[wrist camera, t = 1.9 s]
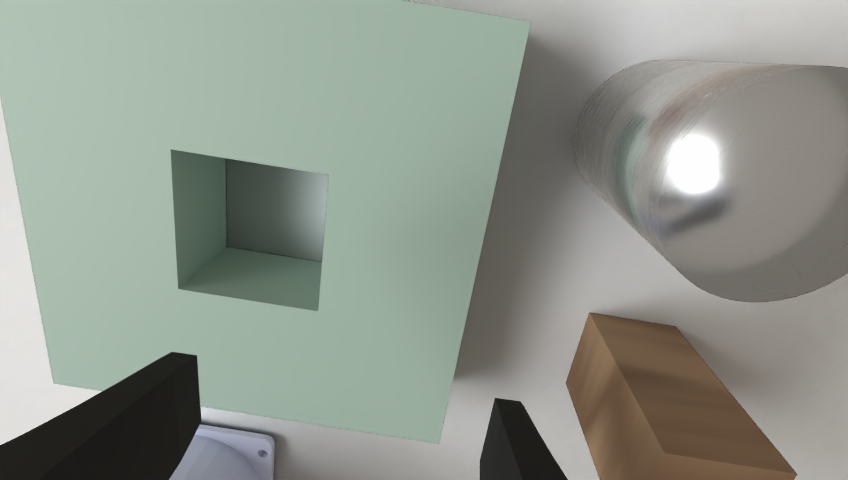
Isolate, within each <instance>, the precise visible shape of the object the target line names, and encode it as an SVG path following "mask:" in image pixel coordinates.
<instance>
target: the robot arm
mask: <svg viewBox="0 0 848 480" xmlns="http://www.w3.org/2000/svg"><path fill="white" fill-rule="evenodd" d="M200 423H201V409H200V394H199V378H198V362H197V355H192V354H185V353H178V352H170V353H169V354H167V355H165V356H163V357H161V358H159V359H158V360H156V361H154V362H152V363H151V364H149V365H147V366H145V367H144V368H142V369H140V370H139V371H137V372H135V373H133V374H132V375H130V376H128V377H127V378H125V379H123V380H121V381H120V382H118V383H116V384H115V385H113V386H111V387H109V388H108V389H106V390H104V391H102V392H101V393H99V394H97V395H95V396H94V397H92V398H90V399H88V400H87V401H85V402H83V403H81V404H80V405H78V406H76V407H74V408H72V409H70V410H68V411H66V412H65V413H63V414H61V415H59V416H57V417H55V418H53V419H51V420H49V421H48V422H46V423H44V424H42V425H40V426H38V427H36V428H34V429H32V430H31V431H29V432H27V433H25V434H23V435H21V436H19V437H17V438H15V439H13V440H11V441H9V442H6V443H4V444H2V445H0V480H273V472H274V448H275V442H274V440H273V438H272V437H270V436H269V435H265V434H259V433H253V432H246V431H240V430H233V429H227V428H221V427H214V426H208V425H202V424H200ZM262 450H264V451H262ZM265 451H266V452H265ZM480 480H568V479H567V478H566V476H565V475H564V473H563V472H562V470H561V469H560V467H559V465H558V464H557V462H556V461H555V459H554V458H553V456H552V454H551V453H550V451H549V449H548V448H547V446H546V444H545V443H544V441H543V439H542V438H541V436H540V434H539V432H538V431H537V429H536V427H535V425H534V424H533V422H532V420H531V418H530V416H529V415H528V413H527V411H526V409H525V407H524V406H523V404H522V403H521V402H520V401H513V400H506V399H499V398H495V401H494V405H493V409H492V413H491V417H490V421H489V425H488V430H487V434H486V438H485V442H484V446H483V450H482V454H481V459H480Z"/></svg>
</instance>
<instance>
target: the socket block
mask: <svg viewBox="0 0 848 480" xmlns="http://www.w3.org/2000/svg"><path fill="white" fill-rule="evenodd" d="M530 25H531V21H525V20H519V19H513V18H507V17H501V16H495V15H489V14H483V13H477V12H471V11H465V10H459V9H453V8H447V7H441V6H435V5H429V4H423V3H417V2H411V1H405V0H0V99H1V104H2V109H3V115H4V120H5V125H6V131H7V136H8V142H9V147H10V152H11V158H12V163H13V168H14V174H15V179H16V185H17V190H18V195H19V201H20V206H21V211H22V217H23V222H24V228H25V233H26V238H27V244H28V249H29V254H30V260H31V265H32V271H33V276H34V281H35V287H36V292H37V297H38V303H39V308H40V314H41V319H42V324H43V330H44V335H45V340H46V346H47V351H48V357H49V362H50V367H51V373H52V378H53V383H54V384H60V385H66V386H73V387H79V388H86V389H92V390H98V391H104V390H106V389H108V388H109V387H111V386H113V385H115V384H116V383H118V382H120V381H121V380H123V379H125V378H127V377H128V376H130V375H132V374H133V373H135V372H137V371H139V370H140V369H142V368H144V367H145V366H147V365H149V364H151V363H152V362H154V361H156V360H158V359H159V358H161V357H163V356H165V355H167V354H169V353H170V352H178V353H185V354H192V355H197V362H198V378H199V394H200V407H207V408H213V409H219V410H226V411H232V412H238V413H245V414H251V415H258V416H264V417H270V418H277V419H283V420H289V421H296V422H302V423H308V424H315V425H321V426H328V427H334V428H340V429H347V430H353V431H359V432H366V433H372V434H379V435H385V436H391V437H398V438H404V439H410V440H417V441H423V442H430V443H436V444H439V442H440V437H441V433H442V428H443V423H444V419H445V414H446V410H447V405H448V400H449V396H450V391H451V387H452V382H453V378H454V373H455V368H456V364H457V359H458V355H459V350H460V345H461V341H462V336H463V332H464V327H465V323H466V318H467V313H468V309H469V304H470V300H471V295H472V290H473V286H474V281H475V277H476V272H477V268H478V263H479V258H480V254H481V249H482V245H483V240H484V236H485V231H486V226H487V222H488V217H489V213H490V208H491V203H492V199H493V194H494V190H495V185H496V181H497V176H498V171H499V167H500V162H501V158H502V153H503V148H504V144H505V139H506V135H507V130H508V126H509V121H510V116H511V112H512V107H513V103H514V98H515V94H516V89H517V84H518V80H519V75H520V71H521V66H522V61H523V57H524V52H525V48H526V43H527V39H528V34H529V29H530ZM226 158H227V159H234V160H240V161H246V162H252V163H258V164H264V165H270V166H277V167H283V168H289V169H295V170H301V171H307V172H314V173H320V174H326V175H329V178H328V191H327V204H326V217H325V230H324V243H323V256H322V262H317V261H311V260H305V259H299V258H292V257H286V256H280V255H274V254H268V253H261V252H255V251H249V250H243V249H236V248H230V247H226Z"/></svg>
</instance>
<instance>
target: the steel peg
mask: <svg viewBox="0 0 848 480" xmlns="http://www.w3.org/2000/svg"><path fill="white" fill-rule="evenodd" d="M574 147H575V157H576V162H577V165H578V168H579V170H580V172H581V174H582V176H583V178H584V179H585V181H586V182H587V183H588V185H589V186H590V187H591V188H592V189H593V190H594V191H595V192H596V193H597V194H598V195H599V196H600V197H601V198H603V199H604V200H605V201H606V202H607V203H608V204H609V205H610V206H611V207H612V208H613V209H614V210H615V211H616V212H617V213H618V214H619V215H620V216H621V217H622V218H623V219H625V220H626V221H627V222H628V223H629V224H630V225H631V226H632V227H633V228H634V229H635V230H636V231H637V232H638V233H639V234H640V235H641V236H642V237H643V238H644V239H645V240H647V241H648V242H649V243H650V244H651V245H652V246H653V247H654V248H655V249H656V250H657V251H658V252H659V253H660V254H661V255H662V256H663V257H664V258H665V259H666V260H667V261H669V262H670V263H671V264H672V265H673V266H674V267H675V268H676V269H677V270H678V271H679V272H680V273H681V274H682V275H683V276H684V277H685V278H686V279H688V280H689V281H690V282H692V283H693V284H694V285H696V286H697V287H699V288H701V289H703V290H705V291H706V292H708V293H711V294H713V295H716V296H719V297H722V298H726V299H730V300H735V301H744V302H769V301H777V300H783V299H788V298H792V297H797V296H800V295H803V294H806V293H809V292H812V291H814V290H816V289H819V288H821V287H823V286H826V285H828V284H830V283H831V282H833V281H835V280H837V279H839V278H840V277H842V276H844V275H845V274H847V273H848V68H844V67H833V66H816V65H788V64H759V63H731V62H703V61H675V60H654V61H647V62H642V63H639V64H636V65H633V66H630V67H628V68H626V69H624V70H622V71H620V72H618V73H617V74H615V75H613V76H612V77H611V78H610V79H608V80H607V81H606V82H604V83H603V84H602V85H601V86H600V87H599V88H598V89H597V90H596V92H595V93H594V94H593V95H592V97H591V98H590V99H589V101H588V102H587V104H586V106H585V107H584V109H583V111H582V113H581V115H580V118H579V121H578V124H577V128H576V133H575V142H574Z"/></svg>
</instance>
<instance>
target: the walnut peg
mask: <svg viewBox="0 0 848 480" xmlns="http://www.w3.org/2000/svg"><path fill="white" fill-rule="evenodd" d="M566 385H567V388H568V391H569V394H570V396H571V399H572V402H573V405H574V408H575V411H576V413H577V416H578V419H579V422H580V425H581V428H582V430H583V433H584V436H585V439H586V442H587V445H588V447H589V450H590V453H591V456H592V459H593V462H594V465H595V467H596V470H597V473H598V476H599V479H600V480H794V479H795V477H796V475H797V473H796V472H795V471H794V469H793V468H792V467H791V466H790V465H789V463H788V462H787V461H786V460H785V459H784V457H783V456H782V455H781V454H780V453H779V451H778V450H777V449H776V448H775V446H774V445H773V444H772V443H771V442H770V440H769V439H768V438H767V437H766V436H765V434H764V433H763V432H762V431H761V429H760V428H759V427H758V426H757V425H756V423H755V422H754V421H753V420H752V419H751V417H750V416H749V415H748V414H747V412H746V411H745V410H744V409H743V408H742V406H741V405H740V404H739V403H738V402H737V400H736V399H735V398H734V397H733V396H732V394H731V393H730V392H729V391H728V389H727V388H726V387H725V386H724V385H723V383H722V382H721V381H720V380H719V379H718V377H717V376H716V375H715V374H714V372H713V371H712V370H711V369H710V368H709V366H708V365H707V364H706V363H705V362H704V360H703V359H702V358H701V357H700V355H699V354H698V353H697V352H696V351H695V349H694V348H693V347H692V346H691V345H690V343H689V342H688V341H687V340H686V339H685V337H684V336H683V335H682V334H681V332H680V331H679V330H678V329H677V328H676V327H675V326H669V325H663V324H657V323H650V322H644V321H638V320H632V319H625V318H619V317H613V316H607V315H600V314H594V313H589V315H588V318H587V321H586V324H585V327H584V330H583V333H582V336H581V339H580V342H579V345H578V348H577V351H576V354H575V357H574V360H573V363H572V366H571V369H570V372H569V375H568V378H567V381H566Z"/></svg>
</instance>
